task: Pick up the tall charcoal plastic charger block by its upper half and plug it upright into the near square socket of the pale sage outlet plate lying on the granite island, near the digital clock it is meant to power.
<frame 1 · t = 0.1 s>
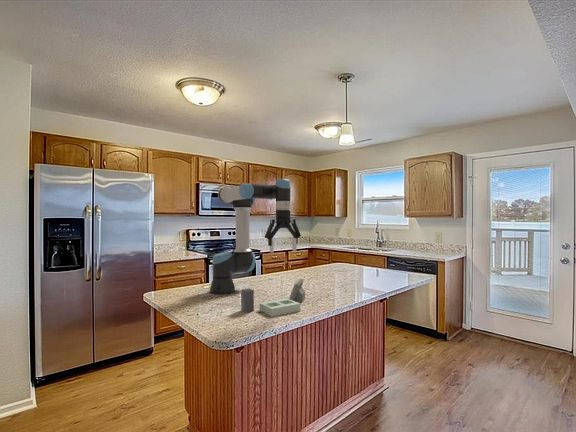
hand: (283, 251, 164), 28 cm above the countertop, fingers open, 13 cm apart
digital clock: (296, 300, 177), on the countertop
charger: (247, 310, 157), on the countertop
outlet plate: (279, 310, 157), on the countertop
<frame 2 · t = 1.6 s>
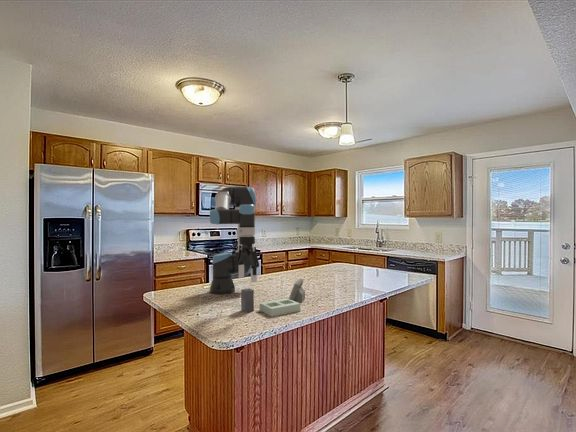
hand: (247, 279, 157), 15 cm above the countertop, fingers open, 13 cm apart
nothing on the countertop moved.
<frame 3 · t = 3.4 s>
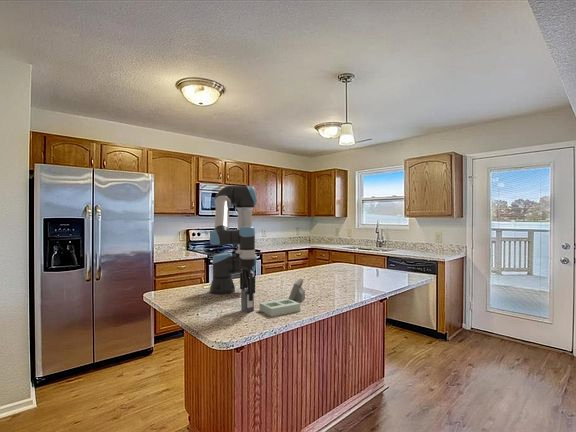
hand: (247, 305, 157), 2 cm above the countertop, fingers closed on charger, 4 cm apart
charger: (247, 310, 157), on the countertop, touching gripper
everything else where it was.
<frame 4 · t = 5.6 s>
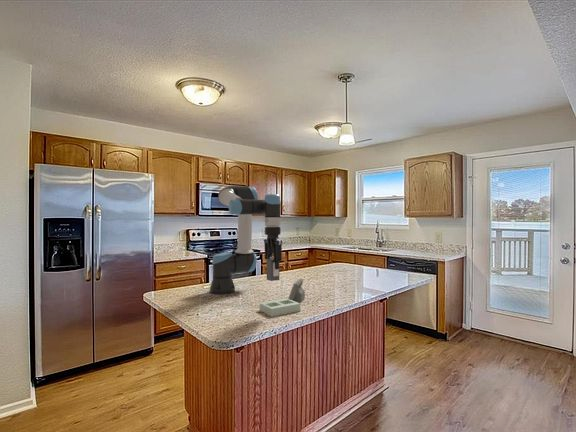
hand: (273, 275, 155), 18 cm above the countertop, fingers closed on charger, 4 cm apart
charger: (273, 279, 155), point 15 cm above the countertop, touching gripper
everything else where it was.
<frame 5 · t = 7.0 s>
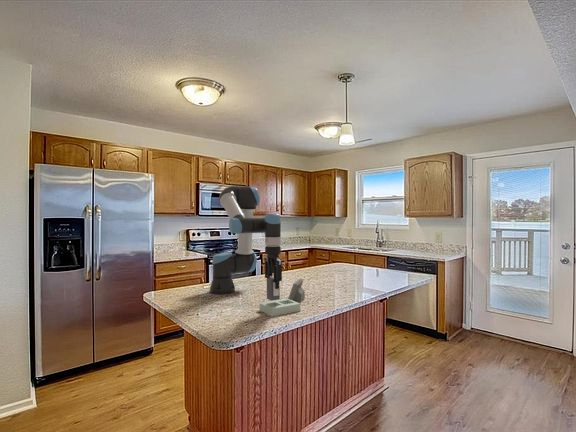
hand: (273, 294, 155), 8 cm above the countertop, fingers closed on charger, 4 cm apart
charger: (273, 299, 155), point 6 cm above the countertop, touching gripper
everything else where it was.
when the fingers open (5 cm above the countertop, at t = 7.9 s): charger drops 3 cm, resting in outlet plate.
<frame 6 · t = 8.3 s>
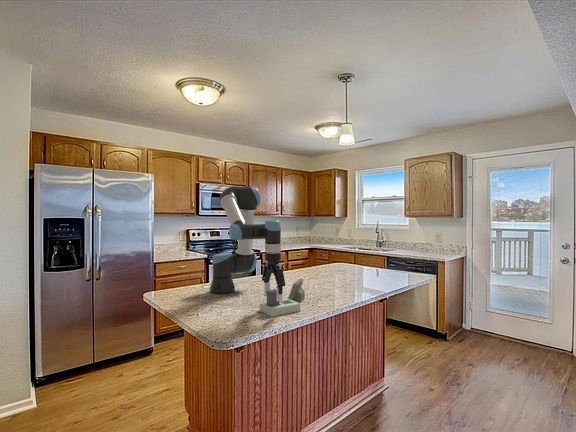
hand: (273, 298, 155), 6 cm above the countertop, fingers open, 11 cm apart
charger: (273, 311, 155), resting in outlet plate
everything else where it was.
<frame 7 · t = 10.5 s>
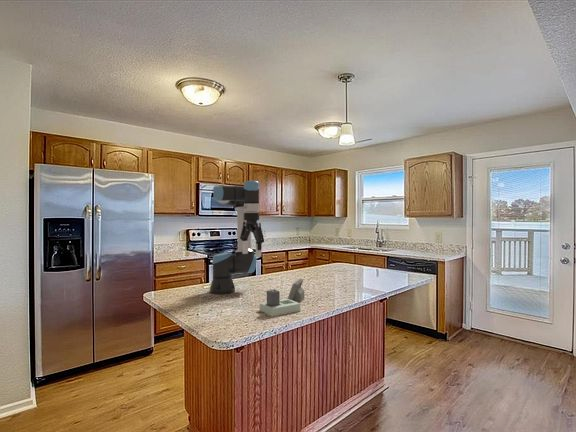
hand: (251, 255, 159), 27 cm above the countertop, fingers open, 13 cm apart
nothing on the countertop moved.
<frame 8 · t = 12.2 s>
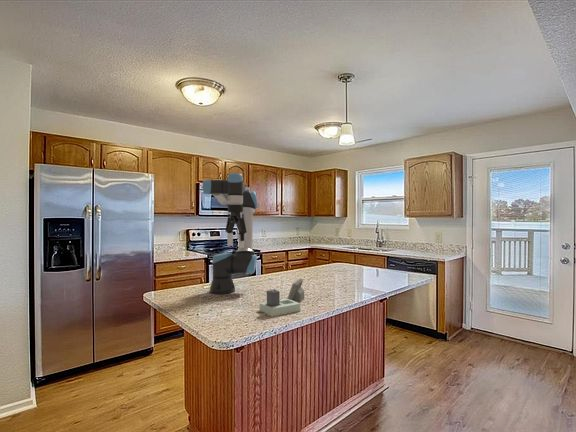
hand: (235, 246, 162), 31 cm above the countertop, fingers open, 13 cm apart
at the end: charger 0.0 cm from the target spot on the outlet plate, point 0.0 cm above the outlet plate's base; charger tilted 0°; the gripper is holding nothing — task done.
